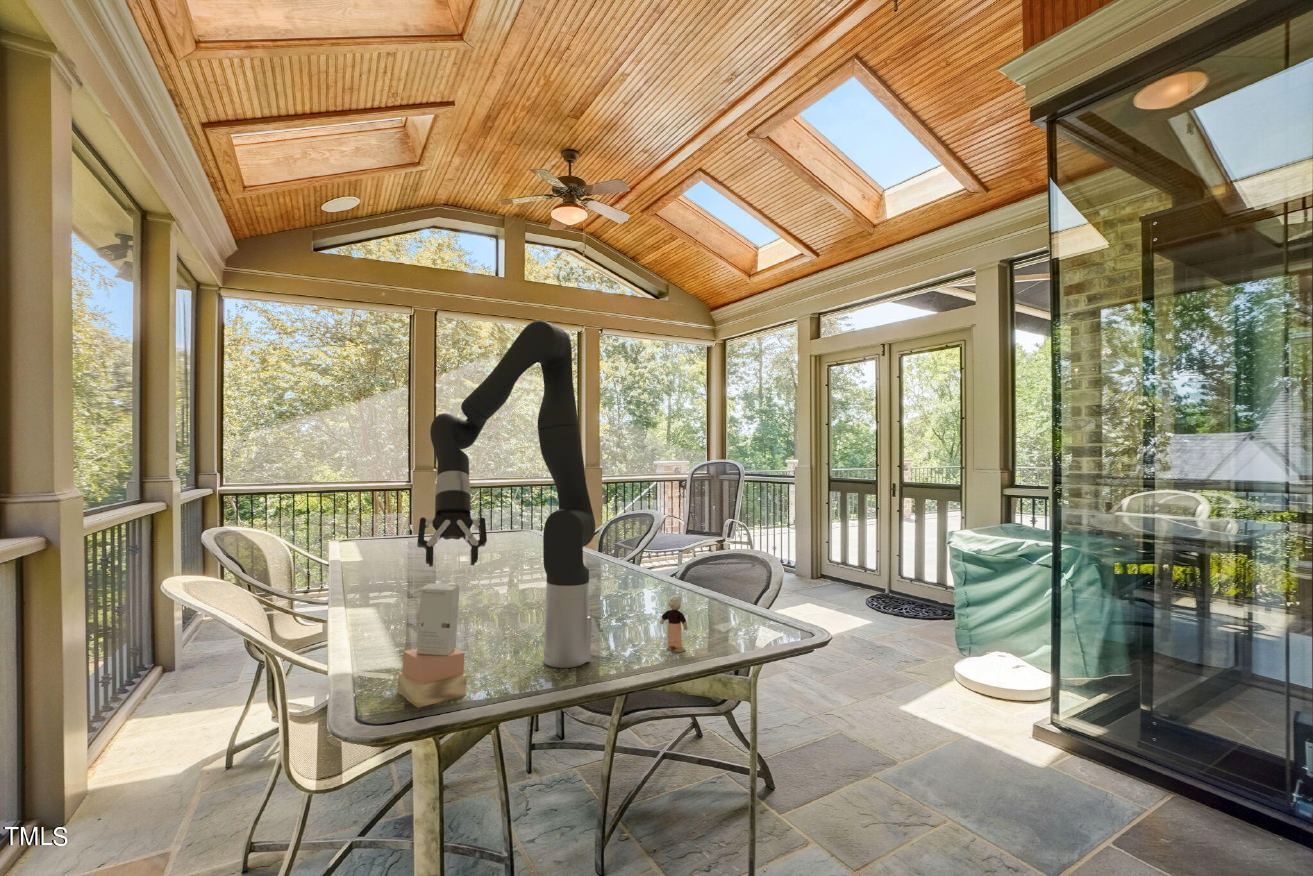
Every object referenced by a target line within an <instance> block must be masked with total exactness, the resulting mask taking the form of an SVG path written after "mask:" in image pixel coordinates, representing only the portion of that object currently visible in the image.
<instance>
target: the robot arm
mask: <svg viewBox="0 0 1313 876" xmlns="http://www.w3.org/2000/svg"><path fill="white" fill-rule="evenodd" d="M572 350H573V347H572V342H571V337H570V336H569V334H568V333H567V331H565V329H563V328H561V327H560V326H558V325H555V324H553V323H550V322H548V321H547V320H546V321H545V320H534V321H531V322H529V323H528V324H527V325H526V326H525V327H524V328H523V329H522V331H521V332H520V333H519V335H518V336H517V337H516V339H515V340H514V341H513V343H512V344H511V345H510V347H509V349H508V350H507V351H506V352H505V353H504V355H503V357H501V359H500V360H499V362H498V363H497V365H495V367H494V369H493V370H492V371H491V372H489V374H488V376H487V377H486V378H485V379H484V380H483V381H482V382H481V383H480V384H479V385H478V386H476V388H475V389H474V390H473V391H472V392H471V393H469V394H468V396H466V398H465V399H464V400H463V401H462V403H461V405H460V408H461V409H460V410H461V411H462V413H463V415H464V416H465V417H466V419H462V418H460V417H458V416H456V415H453V414H450V413H447V412H443V413H439V414H437V415H436V416H435V417H434V419H433V421H431V425H430V428H429V429H430V430H429V434H430V440H431V441H430V442H431V444H432V447H433V451H434V456H435V458H436V462H437V466H436V482H435V490H434V491H435V492H434V496H435V498H434V502H435V503H434V518H433V519H426V517H421V518H420V519H419V524H418V532H417V533H418V534H417V548H423V549H424V550H425V565H426V564H427V565H428V567H429V568H430V567H433V566H434V547H435V545H436V544H437V543H438V542H439V541H440V540H441V539H444V540H451V539H453V540H460V539H463V540H464V542H466V544H468V545H469V546H470V566H475V565H476V563H477V562H478V561H479V548H481V547H485V546H486V543H487V541H488V539H487V536H488V535H487V525H486V524H487V523H486V518H485V517H480V518H479V519H477V518H476V519H473V518H472V516H471V481H470V459H469V456H468V455H467V454H466V453H465V452H464V451H463V450H465V449H468V448H470V447H472V446H473V444H474V443H475V442H476V440H477V438H478V437H479V435H480V433H481V432H482V429H484V426H485V425H486V423H487V421H488V420H489V419H491V417H492V416H494V415H495V414H496V413H497V412H498V411H499V410H500V408H502V407H503V406H504V404H505V403H507V401H508V398H509V397H510V395H511V393H512V391H513V389H514V387H515V385H516V383H517V381H518V380H519V378H521V376H522V375H523V374H524V373H525V372H526V371H527V370H528V369H529V368H531V367H533V365H535V364H536V363H539V364H540V367H541V372H542V380H543V397H542V401H541V405H540V407H539V410H538V411H539V412H538V415H537V416H538V417H537V433H538V442H539V447H540V453H541V455H542V458H543V461H544V464H545V465H546V468H547V470H548V471H549V474H550V475H551V478H552V480H553V481H554V485H555V488H556V493H557V494H556V495H557V501H558V510H555V511H553V512H551V513H550V514H549V515H548V517H547V518H546V520H545V523H544V526H543V534H542V535H543V537H542V539H543V541H542V542H543V543H542V547H543V550H542V551H543V552H542V553H543V555H542V556H543V558H542V559H543V569H544V571H545V575H546V583H545V584H546V585H545V586H546V589H545V591H546V592H545V617H544V618H545V620H544V642H543V643H544V644H543V646H544V647H543V648H544V649H543V663H544V664H545V665H546V666H549V667H552V668H561V669H565V668H566V669H567V668H568V669H569V668H575V667H580V666H582V665H585V664H586V663H589V662H591V646H592V617H591V616H589V594H590V593H589V590H590V589H589V588H590V571H589V568H588V567H587V566H585V563H584V547H587V545H589V544H590V543H591V542H592V541H593V539H594V537H595V533H596V520H595V516H594V511H593V507H592V503H591V499H590V496H589V490H588V485H587V480H586V479H587V478H586V472H585V471H586V470H585V463H584V456H583V449H582V448H583V446H582V438H581V431H580V424H579V423H580V422H579V417H578V412H577V411H578V410H577V403H576V396H575V389H574V388H575V387H574V378H573V351H572ZM431 526H432V528H433V529H435V532H434V533H433V535H432V536H431V538H429V540H425V533H426V532H425V531H428V530H429V528H430V527H431ZM473 526H474V527H475V529H476V530H478V537H479V539H477V538H476V537H475V536H474V534H473V533H472V531H471V530H470V529H471V528H472V527H473Z"/></svg>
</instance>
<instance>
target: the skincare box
mask: <svg viewBox="0 0 1313 876" xmlns="http://www.w3.org/2000/svg"><path fill="white" fill-rule="evenodd" d="M459 598H460V585H459V584H451V583H450V584H448V583H427V584H426V585H424V586H422V588H421V589H420V599H419V610H418V611H419V612H418V613H419V614H418V615H419V616H418V625H417V627H418V628H417V644H416V648H417V654H428V655H443V656H446V655H449V654H450V653H451V652H452V651H453V650H454V649H455V648H456V647H457V630H458V618H459V617H458V615H459V601H460V599H459ZM456 649H457V648H456Z"/></svg>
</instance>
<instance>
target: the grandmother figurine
mask: <svg viewBox="0 0 1313 876" xmlns="http://www.w3.org/2000/svg"><path fill="white" fill-rule="evenodd" d="M681 603H682V597H681V595H678V594H673V595H672V596H671V597H669V599H668V600H667V603H666V604H667V605H668V606H669V607H670V609H669V610H666V611H665V612H664V613H663V614H662V615H661V618H660V622H659V623H660V625H665V621H668V625H667V645H668V646H667V647H666V651H673V650H674V652H676V653H681V652H685V651H686V648H685V647H684V646H683V641H682V640H683V637H682V636H683V635H682V629H683V631H688V629H689V627H688V623H687V619H686V616H685V614H684V613H683V612H682V611H679V610H680V608H681V606H682V604H681ZM682 627H683V628H682Z"/></svg>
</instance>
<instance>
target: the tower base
mask: <svg viewBox="0 0 1313 876" xmlns="http://www.w3.org/2000/svg"><path fill="white" fill-rule="evenodd" d="M402 672H403V671H402ZM402 672H398V679H397V694H399V695H400V694H401V695H403V696H404V697H405V698H406V699H405V698H404V697H403V696H402V697H403V698H404V699H405V700H406V701H408V702H410V704H412V705H413V706H414V707H416V708H419V709H420V708H421V707H426V706H429V705H433V704H437V703H441V702H445V701H449V700H452V699H456V698H461V697H465V696H466V695H467V681H468V680H467V679H468V675H467V674H465V673H464V674H463V675H459V676H455V677H451V678H447V679H443V680H439V681H435V682H431V683H427V684H423V685H421V684H419V683H418V682H416V681H415V680H413V679H411V678H410V677H408V676H407V675H405V674H403V673H402ZM401 695H400V696H401Z"/></svg>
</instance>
